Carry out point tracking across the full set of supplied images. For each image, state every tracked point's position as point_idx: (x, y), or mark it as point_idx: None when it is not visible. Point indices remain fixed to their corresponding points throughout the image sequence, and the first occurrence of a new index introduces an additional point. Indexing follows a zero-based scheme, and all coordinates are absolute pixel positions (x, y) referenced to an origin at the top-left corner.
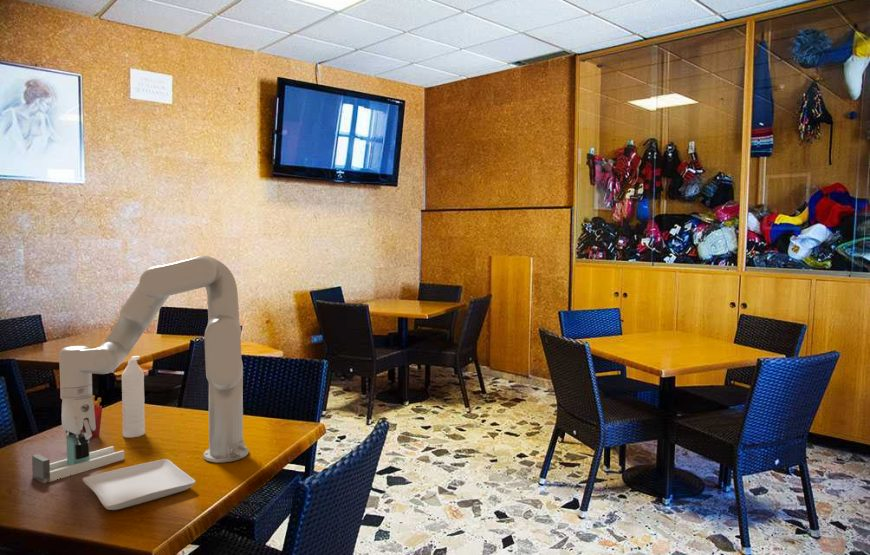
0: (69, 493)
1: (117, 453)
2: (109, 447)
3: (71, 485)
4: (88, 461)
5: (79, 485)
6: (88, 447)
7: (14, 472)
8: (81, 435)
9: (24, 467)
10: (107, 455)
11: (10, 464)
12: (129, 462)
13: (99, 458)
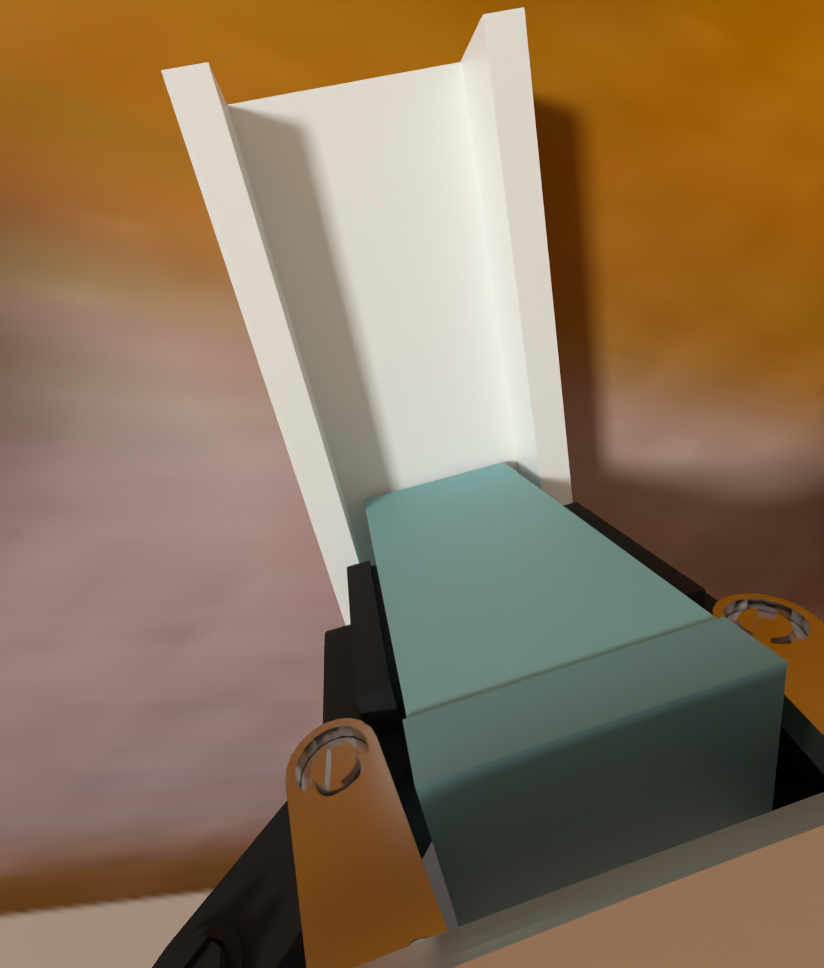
0: (816, 615)
1: (535, 136)
2: (216, 143)
3: (717, 597)
4: (571, 491)
5: (757, 559)
6: (643, 549)
7: (222, 863)
8: (674, 789)
9: (142, 827)
10: (543, 279)
11: (3, 903)
12: (612, 72)
13: (560, 380)
